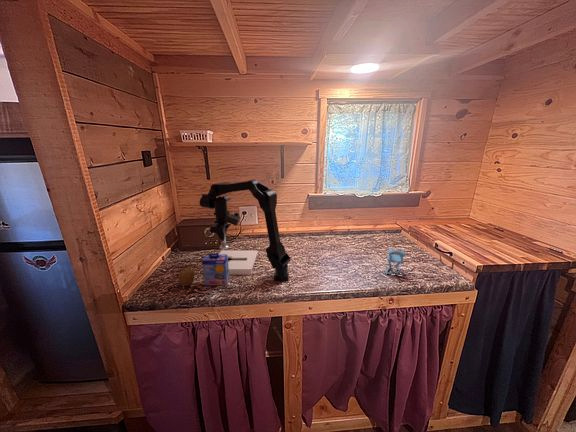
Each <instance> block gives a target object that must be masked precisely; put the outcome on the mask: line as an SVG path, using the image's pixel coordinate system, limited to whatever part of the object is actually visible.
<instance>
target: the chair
mask: <svg viewBox="0 0 576 432" xmlns="http://www.w3.org/2000/svg"><path fill="white" fill-rule="evenodd" d="M405 255H406V250H404V249H400V250H397V249H395V250H393V249H392V247H389V248H388V254H387V261H388V262H387V263H388V265H389V266H388V267H387V268H386V269H385V272H384V274H385V273H387V274H395V275H401V274H402V276H403V277H404V273H403V272H402V271H401V270H400V269H399V266H400V264H401V265H402V264H404V263H405V261H404V258H405ZM391 263H397V264H395V266H394V269H395V268H396V269H397V270H398V271H399V272H400V273H401V274H399V273H395V272H394V273H393V272H390V270H391V269H392V264H391ZM390 268H391V269H390ZM389 269H390V270H389ZM396 269H395V270H396ZM388 270H389V272H388Z"/></svg>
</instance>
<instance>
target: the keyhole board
mask: <svg viewBox="0 0 576 432" xmlns="http://www.w3.org/2000/svg"><path fill="white" fill-rule="evenodd" d="M220 250H221V251H220V252H219V253H217V254H218V255H220V254H227V255H228V259H231V260H228V266H229V275H244V276H246V275H247V276H248V275H253V268H254V264H255V261H256V259H257V257H259V251H258V250H234V249H233V250H228V249H224V250H222V249H220Z"/></svg>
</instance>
